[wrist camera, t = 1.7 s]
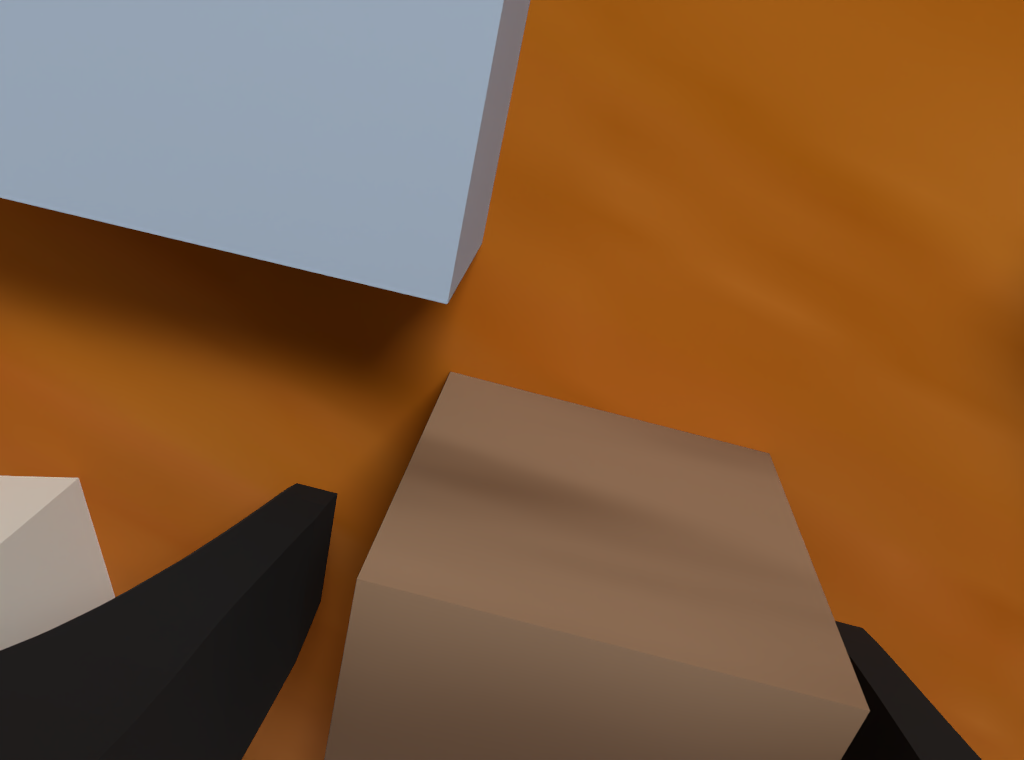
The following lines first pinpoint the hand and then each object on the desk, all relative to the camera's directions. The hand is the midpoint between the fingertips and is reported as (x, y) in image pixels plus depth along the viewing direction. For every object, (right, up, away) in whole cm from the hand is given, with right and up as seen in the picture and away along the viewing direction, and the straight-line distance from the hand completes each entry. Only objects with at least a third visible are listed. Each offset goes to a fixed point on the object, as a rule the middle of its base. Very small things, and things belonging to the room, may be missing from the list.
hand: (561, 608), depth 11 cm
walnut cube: (0, +1, +2) cm, 2 cm away
